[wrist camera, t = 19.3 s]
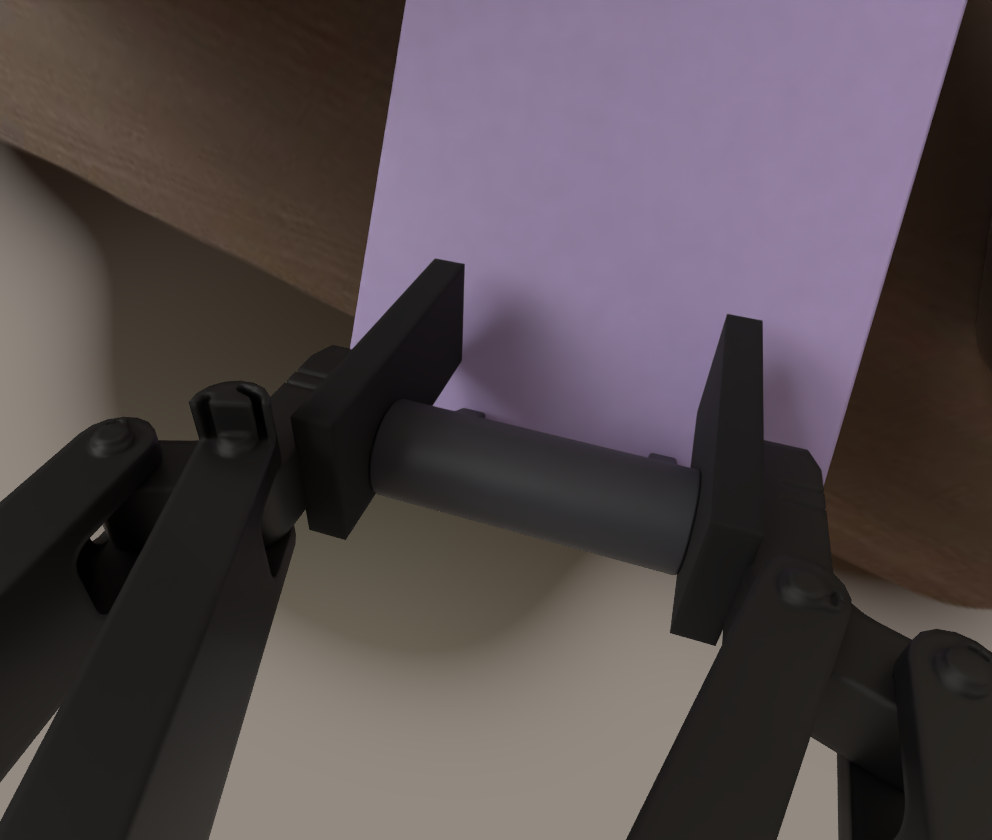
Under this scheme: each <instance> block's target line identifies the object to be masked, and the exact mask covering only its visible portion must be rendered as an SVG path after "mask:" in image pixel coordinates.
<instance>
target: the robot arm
mask: <svg viewBox="0 0 992 840" xmlns="http://www.w3.org/2000/svg"><path fill="white" fill-rule="evenodd" d="M464 277H465V264H462V263H457V262H452V261H447V260H441V259H436V258H435V259H434V260H433V261H432V262H431V263H430V264H429V265H428V266H427V267H426V269H425V270H424V271H423V272H422V273H421V274H420V275H419V276H418V277H417V278H416V280H415V281H414V282H413V283H412V284H411V285H410V286H409V287H408V288H407V289H406V291H405V292H404V293H403V294H402V295H401V296H400V297H399V298H398V299H397V300H396V301H395V303H394V304H393V305H392V306H391V307H390V308H389V309H388V310H387V311H386V312H385V314H384V315H383V316H382V317H381V318H380V319H379V320H378V321H377V322H376V323H375V324H374V326H373V327H372V328H371V329H370V330H369V331H368V332H367V333H366V334H365V335H364V337H363V338H362V339H361V340H360V341H359V342H358V343H357V344H356V345H355V346H354V347H353V349H348V348H344V347H339V346H335V345H332V346H330V347H328V348H325V349H324V350H321V351H320V352H318V353H315V354H313V355H312V356H311V357H310V358H309V359H308V360H307V361H306V362H305V363H304V364H303V365H302V366H301V367H300V368H299V369H298V372H295V373H294V374H293V375H292V376H291V377H290V378H289V379H288V380H287V383H284V384H283V385H282V386H281V387H280V388H279V389H278V390H277V391H276V392H275V393H274V394H273V395H272V396H271V397H270V396H269V394H268V393H267V391H266V390H265V388H263V387H261V386H259V385H257V384H255V383H251V382H245V381H230V382H222V383H219V384H215V385H212V386H209V387H207V388H205V389H203V390H202V391H200V392H198V393H197V394H196V395H195V396H194V397H193V398H192V399H191V400H190V401H189V405H190V408H191V412H192V415H193V419H194V422H195V426H196V429H197V432H198V436H199V441H198V440H197V441H165V440H163V441H162V440H158V438H157V435H156V432H155V429H154V428H153V427H152V426H151V424H150V423H149V422H147V421H145V420H142V419H139V418H130V417H121V418H114V419H108V420H105V421H102V422H100V423H97V424H94V425H92V426H90V427H89V428H88V429H86V430H84V431H83V432H81V433H80V434H78V435H77V436H76V437H75V438H74V439H73V440H72V441H70V442H69V443H68V444H67V445H66V446H65V447H63V448H62V449H61V450H60V451H59V452H58V453H57V454H55V455H54V456H53V457H52V458H51V459H50V460H48V461H47V462H46V463H45V464H44V465H43V466H42V467H40V468H39V469H38V470H37V471H36V472H35V473H34V474H32V475H31V476H30V477H29V478H28V479H27V480H25V481H24V482H23V483H22V484H21V485H20V486H18V487H17V488H16V489H15V490H14V491H13V492H12V493H10V494H9V495H8V496H7V497H6V498H4V499H3V500H2V501H1V502H0V782H1V781H2V779H3V778H4V777H5V776H6V774H7V773H8V772H9V771H10V769H11V768H12V767H13V766H14V764H15V763H16V762H17V760H18V759H19V758H20V756H21V755H22V754H23V753H24V752H25V750H26V749H27V748H28V746H29V745H30V744H31V743H32V741H33V740H34V739H35V738H36V736H37V735H38V734H39V733H40V731H41V730H42V729H43V727H44V726H45V725H46V724H47V722H48V721H49V720H50V719H51V717H52V716H53V715H54V714H55V712H56V711H57V710H58V708H59V707H60V708H59V710H58V712H57V714H56V716H55V717H54V720H53V721H52V723H51V725H50V727H49V729H48V731H47V733H46V735H45V737H44V739H43V740H42V742H41V744H40V746H39V748H38V750H37V752H36V754H35V756H34V758H33V760H32V762H31V763H30V765H29V767H28V769H27V771H26V773H25V775H24V777H23V779H22V781H21V783H20V785H19V787H18V788H17V790H16V792H15V794H14V796H13V798H12V800H11V802H10V804H9V806H8V808H7V809H6V811H5V813H4V815H3V817H2V819H1V821H0V840H208V839H209V836H210V833H211V829H212V826H213V822H214V819H215V815H216V812H217V809H218V805H219V802H220V798H221V795H222V792H223V788H224V785H225V781H226V778H227V775H228V771H229V768H230V764H231V761H232V758H233V754H234V751H235V747H236V744H237V740H238V737H239V734H240V730H241V727H242V724H243V720H244V717H245V713H246V710H247V706H248V703H249V700H250V696H251V692H252V690H253V686H254V683H255V679H256V675H257V673H258V669H259V666H260V662H261V659H262V656H263V652H264V649H265V645H266V642H267V638H268V635H269V632H270V628H271V625H272V621H273V618H274V615H275V611H276V608H277V604H278V601H279V598H280V594H281V591H282V587H283V584H284V581H285V577H286V574H287V570H288V567H289V564H290V560H291V557H292V553H293V550H294V546H295V540H296V533H295V528H294V524H295V523H296V521H297V520H298V519H299V517H300V516H301V515H302V513H303V512H304V510H305V509H306V513H307V519H308V525H309V529H310V530H313V531H316V532H320V533H323V534H327V535H330V536H334V537H337V538H341V539H344V540H346V538H347V537H348V535H349V534H350V532H351V531H352V529H353V527H354V526H355V525H356V523H357V522H358V520H359V519H360V517H361V515H362V514H363V512H364V511H365V509H366V508H367V506H368V505H369V503H370V502H371V500H372V498H373V497H374V495H375V494H376V493H375V492H374V491H373V489H372V487H371V484H370V476H369V468H370V458H371V452H372V447H373V443H374V440H375V436H376V433H377V430H378V428H379V425H380V423H381V421H382V419H383V417H384V415H385V413H386V412H387V410H388V409H389V407H390V406H391V405H392V404H393V403H394V402H395V401H397V400H399V399H406V400H410V401H415V402H419V403H423V404H427V405H431V406H433V404H434V403H435V401H436V400H437V398H438V397H439V395H440V394H441V392H442V391H443V389H444V388H445V386H446V384H447V383H448V381H449V380H450V378H451V377H452V375H453V374H454V372H455V371H456V369H457V367H458V366H459V364H460V363H461V361H462V345H463V311H464ZM690 468H693V469H697V470H699V471H700V473H701V489H700V496H699V502H698V508H697V513H696V518H695V522H694V527H693V531H692V535H691V539H690V542H689V546H688V549H687V553H686V556H685V559H684V562H683V564H682V566H681V569H680V570H679V572H678V573H677V581H676V588H675V597H674V605H673V613H672V621H671V630H670V633H672V634H676V635H679V636H683V637H686V638H690V639H693V640H697V641H701V642H703V643H707V644H710V645H714V646H716V643H717V641H718V639H719V637H720V635H721V632H722V630H723V641H722V646H721V648H720V650H719V653H718V655H717V657H716V659H715V661H714V663H713V665H712V667H711V669H710V671H709V673H708V675H707V677H706V679H705V681H704V683H703V685H702V687H701V689H700V691H699V693H698V695H697V697H696V699H695V701H694V703H693V705H692V707H691V709H690V711H689V713H688V715H687V717H686V719H685V721H684V723H683V725H682V727H681V729H680V732H679V733H678V736H677V738H676V740H675V742H674V744H673V746H672V748H671V750H670V752H669V754H668V756H667V758H666V760H665V762H664V764H663V766H662V768H661V770H660V772H659V774H658V776H657V778H656V780H655V782H654V784H653V786H652V788H651V790H650V792H649V794H648V796H647V798H646V800H645V802H644V804H643V806H642V808H641V810H640V812H639V814H638V816H637V819H636V821H635V823H634V825H633V827H632V829H631V831H630V833H629V835H628V837H627V839H626V840H777V837H778V834H779V830H780V827H781V825H782V822H783V818H784V815H785V812H786V809H787V806H788V803H789V800H790V797H791V794H792V791H793V788H794V785H795V782H796V779H797V776H798V773H799V770H800V767H801V764H802V761H803V757H804V755H805V752H806V749H807V746H808V743H809V739H810V736H811V737H812V738H814V739H816V740H817V741H819V742H821V743H822V744H824V745H825V746H827V747H828V748H830V749H832V750H834V751H835V752H837V774H838V775H837V777H838V835H839V836H838V837H839V840H992V652H990V651H989V650H987V649H986V648H985V647H983V646H982V645H981V644H979V643H978V642H976V641H974V640H972V639H970V638H967V637H965V636H963V635H961V634H958V633H956V632H951V631H945V630H939V629H934V630H929V631H924V632H920V633H919V634H918V635H917V636H916V637H915V638H914V639H913V640H911V639H909V638H907V637H905V636H903V635H902V634H900V633H898V632H896V631H894V630H892V629H890V628H888V627H886V626H884V625H882V624H880V623H879V622H877V621H875V620H874V619H872V618H870V617H868V616H867V615H865V614H864V613H863V612H861V611H860V610H859V609H858V608H856V607H855V606H854V605H853V604H852V603H851V598H850V596H849V593H848V591H847V589H846V587H845V585H844V584H843V583H842V582H841V581H840V580H839V579H838V578H837V577H836V576H835V575H834V573H833V568H832V559H831V550H830V541H829V532H828V523H827V514H826V511H825V508H826V505H825V496H824V494H823V492H824V486H823V477H822V470H821V468H820V467H819V465H818V464H817V462H816V461H815V459H814V458H813V456H812V455H811V453H810V452H809V450H807V449H802V448H798V447H793V446H789V445H784V444H780V443H776V442H771V441H767V440H764V406H763V320H757V319H752V318H747V317H742V316H736V315H731V314H727V315H726V319H725V322H724V325H723V329H722V332H721V335H720V338H719V342H718V345H717V348H716V352H715V355H714V358H713V361H712V365H711V368H710V371H709V375H708V378H707V381H706V384H705V388H704V391H703V394H702V398H701V401H700V404H699V407H698V411H697V417H696V425H695V433H694V441H693V449H692V457H691V466H690ZM102 525H103V527H104V529H105V531H104V532H103V533H102V534H101V535H100V536H99V537H98V538H96V539H95V540H94V541H91V539H90V537H91V536H92V535H93V534H94V533H95V532H96V531H97V530H98V529H99V528H100V527H101V526H102Z"/></svg>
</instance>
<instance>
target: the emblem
mask: <svg viewBox="0 0 992 840" xmlns="http://www.w3.org/2000/svg"><path fill="white" fill-rule="evenodd" d="M976 337H977V344H978V347H979V351H980V354H981V356H982V359H983V361H984V363H985V364H986V366H987V367H988V369H989V370H990V372H991V373H992V215H991V222H990V229H989V235H988V242H987V249H986V256H985V263H984V270H983V277H982V284H981V291H980V298H979V305H978V313H977V323H976Z"/></svg>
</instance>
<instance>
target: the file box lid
mask: <svg viewBox="0 0 992 840" xmlns="http://www.w3.org/2000/svg"><path fill="white" fill-rule="evenodd" d="M967 1H968V0H406V4H405V10H404V16H403V22H402V28H401V35H400V41H399V47H398V53H397V60H396V66H395V72H394V78H393V85H392V91H391V97H390V103H389V109H388V116H387V122H386V128H385V134H384V141H383V147H382V153H381V159H380V166H379V172H378V178H377V184H376V190H375V197H374V203H373V209H372V215H371V222H370V228H369V234H368V240H367V247H366V253H365V259H364V265H363V271H362V278H361V284H360V290H359V296H358V303H357V309H356V315H355V321H354V328H353V334H352V340H351V346H350V349H353V347H354V346H355V345H356V344H357V343H358V342H359V341H360V340H361V339H362V338H363V337H364V335H365V334H366V333H367V332H368V331H369V330H370V329H371V328H372V327H373V326H374V324H375V323H376V322H377V321H378V320H379V319H380V318H381V317H382V316H383V315H384V314H385V312H386V311H387V310H388V309H389V308H390V307H391V306H392V305H393V304H394V303H395V301H396V300H397V299H398V298H399V297H400V296H401V295H402V294H403V293H404V292H405V291H406V289H407V288H408V287H409V286H410V285H411V284H412V283H413V282H414V281H415V280H416V278H417V277H418V276H419V275H420V274H421V273H422V272H423V271H424V270H425V269H426V267H427V266H428V265H429V264H430V263H431V262H432V261H433V260H434V259H435V258H436V259H441V260H447V261H452V262H457V263H462V264H465V277H464V311H463V345H462V361H461V363H460V364H459V366H458V367H457V369H456V371H455V372H454V374H453V375H452V377H451V378H450V380H449V381H448V383H447V384H446V386H445V388H444V389H443V391H442V392H441V394H440V395H439V397H438V398H437V400H436V401H435V403H434V404H433V406H431V405H427V404H423V403H419V402H415V401H410V400H406V399H399V400H397V401H395V402H394V403H393V404H392V405H391V406H390V407H389V409H388V410H387V412H386V413H385V415H384V417H383V419H382V421H381V423H380V425H379V428H378V430H377V433H376V436H375V440H374V443H373V447H372V452H371V458H370V468H369V476H370V484H371V487H372V489H373V491H374V492H375V493H377V494H378V495H382V496H385V497H390V498H393V499H396V500H400V501H404V502H407V503H411V504H415V505H418V506H422V507H425V508H429V509H433V510H436V511H440V512H444V513H448V514H452V515H455V516H459V517H462V518H466V519H469V520H473V521H477V522H481V523H484V524H488V525H492V526H495V527H499V528H502V529H506V530H510V531H513V532H517V533H521V534H525V535H528V536H532V537H535V538H539V539H543V540H546V541H550V542H554V543H558V544H561V545H565V546H568V547H572V548H576V549H579V550H583V551H587V552H590V553H594V554H598V555H602V556H605V557H609V558H612V559H616V560H620V561H623V562H627V563H631V564H634V565H638V566H642V567H645V568H649V569H653V570H656V571H660V572H664V573H667V574H671V575H676V574H677V573H678V572H679V570H680V569H681V566H682V564H683V562H684V559H685V556H686V553H687V549H688V546H689V542H690V539H691V535H692V531H693V527H694V522H695V518H696V513H697V508H698V502H699V496H700V489H701V473H700V471H699V470H697V469H693V468H690V466H691V457H692V449H693V441H694V433H695V425H696V417H697V411H698V407H699V404H700V401H701V398H702V394H703V391H704V388H705V384H706V381H707V378H708V375H709V371H710V368H711V365H712V361H713V358H714V355H715V352H716V348H717V345H718V342H719V338H720V335H721V332H722V329H723V325H724V322H725V319H726V315H727V314H731V315H736V316H742V317H747V318H752V319H757V320H763V406H764V440H767V441H771V442H776V443H780V444H784V445H789V446H793V447H798V448H802V449H807V450H809V452H810V453H811V455H812V456H813V458H814V459H815V461H816V462H817V464H818V465H819V467H820V468H821V470H822V477H823V486H824V483H825V480H826V476H827V473H828V470H829V466H830V463H831V460H832V456H833V453H834V449H835V446H836V443H837V439H838V436H839V433H840V429H841V426H842V422H843V419H844V416H845V412H846V409H847V406H848V402H849V399H850V395H851V392H852V389H853V385H854V382H855V379H856V375H857V372H858V368H859V365H860V362H861V358H862V355H863V352H864V348H865V345H866V341H867V338H868V335H869V331H870V328H871V325H872V321H873V318H874V314H875V311H876V308H877V304H878V301H879V298H880V294H881V291H882V288H883V284H884V281H885V277H886V274H887V271H888V267H889V264H890V261H891V257H892V254H893V250H894V247H895V244H896V240H897V237H898V234H899V230H900V227H901V223H902V220H903V217H904V213H905V210H906V207H907V203H908V200H909V196H910V193H911V190H912V186H913V183H914V180H915V176H916V173H917V169H918V166H919V163H920V159H921V156H922V153H923V149H924V146H925V142H926V139H927V136H928V132H929V129H930V126H931V122H932V119H933V116H934V112H935V109H936V105H937V102H938V99H939V95H940V92H941V89H942V85H943V82H944V78H945V75H946V72H947V68H948V65H949V62H950V58H951V55H952V51H953V48H954V45H955V41H956V38H957V35H958V31H959V28H960V24H961V21H962V18H963V14H964V11H965V8H966V4H967Z"/></svg>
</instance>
